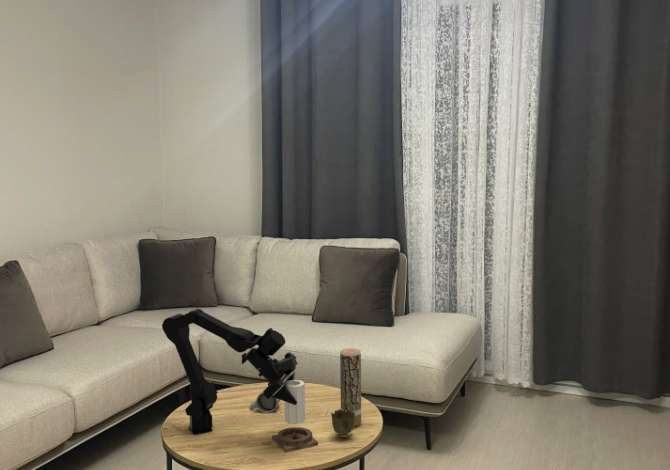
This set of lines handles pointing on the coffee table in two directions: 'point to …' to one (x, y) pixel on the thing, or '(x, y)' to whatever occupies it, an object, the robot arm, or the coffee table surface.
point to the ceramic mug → (265, 403)
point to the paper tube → (351, 382)
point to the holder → (294, 438)
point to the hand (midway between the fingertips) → (298, 400)
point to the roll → (297, 412)
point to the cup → (343, 422)
